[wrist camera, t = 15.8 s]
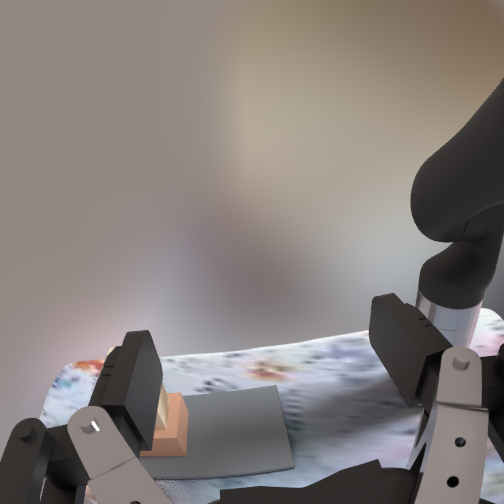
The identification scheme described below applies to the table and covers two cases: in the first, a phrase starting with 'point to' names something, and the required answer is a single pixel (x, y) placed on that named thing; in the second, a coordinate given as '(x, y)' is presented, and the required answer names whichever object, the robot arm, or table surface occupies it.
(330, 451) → the table surface
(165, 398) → the pillar
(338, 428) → the table surface
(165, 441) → the base block
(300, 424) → the table surface
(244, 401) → the build mat
